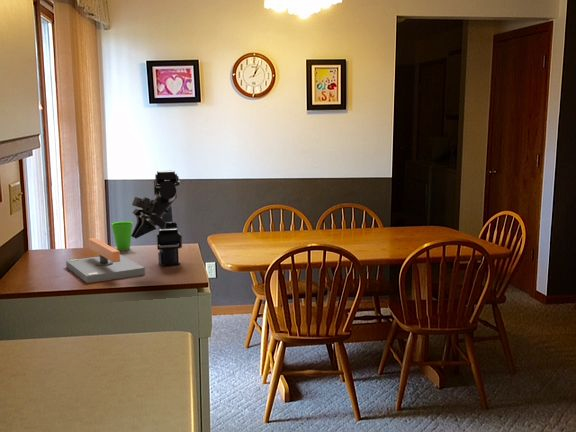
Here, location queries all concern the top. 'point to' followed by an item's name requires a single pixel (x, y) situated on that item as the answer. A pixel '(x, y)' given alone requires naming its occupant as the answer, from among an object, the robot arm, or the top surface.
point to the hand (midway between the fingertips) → (133, 237)
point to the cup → (122, 234)
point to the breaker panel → (104, 269)
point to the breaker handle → (104, 251)
